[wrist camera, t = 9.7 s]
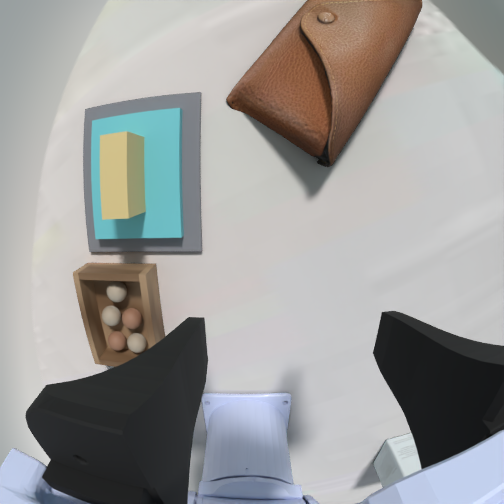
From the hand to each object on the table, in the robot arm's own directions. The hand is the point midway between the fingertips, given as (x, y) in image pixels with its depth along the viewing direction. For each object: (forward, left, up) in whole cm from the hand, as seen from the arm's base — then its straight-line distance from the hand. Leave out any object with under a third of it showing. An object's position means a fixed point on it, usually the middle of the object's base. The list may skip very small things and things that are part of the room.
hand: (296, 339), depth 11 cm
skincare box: (-26, -18, -10) cm, 33 cm away
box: (-4, +12, -10) cm, 16 cm away
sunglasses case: (+17, -4, -11) cm, 20 cm away
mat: (+7, +10, -10) cm, 15 cm away
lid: (+6, +10, -10) cm, 15 cm away
